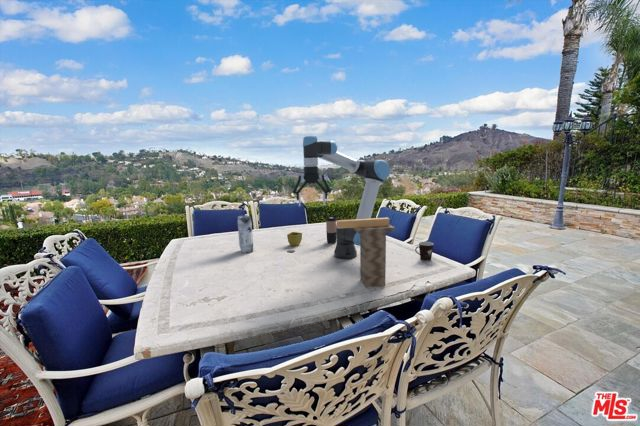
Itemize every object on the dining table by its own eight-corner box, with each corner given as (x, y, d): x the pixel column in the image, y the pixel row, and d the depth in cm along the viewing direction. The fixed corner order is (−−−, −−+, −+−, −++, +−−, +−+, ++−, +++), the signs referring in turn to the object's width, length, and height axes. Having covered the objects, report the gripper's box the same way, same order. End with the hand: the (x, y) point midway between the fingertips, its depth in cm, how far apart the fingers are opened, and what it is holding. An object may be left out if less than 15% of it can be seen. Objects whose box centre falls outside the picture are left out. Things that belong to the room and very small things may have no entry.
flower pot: (303, 244, 220) (302, 232, 218) (297, 247, 212) (296, 235, 210) (293, 243, 223) (292, 231, 222) (287, 246, 215) (286, 234, 214)
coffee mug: (430, 256, 183) (431, 241, 181) (434, 261, 175) (435, 245, 173) (412, 256, 184) (412, 241, 183) (415, 261, 176) (415, 245, 174)
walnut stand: (358, 289, 140) (358, 229, 135) (352, 279, 152) (352, 224, 146) (393, 285, 142) (394, 227, 137) (384, 276, 154) (385, 222, 149)
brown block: (337, 228, 138) (337, 221, 137) (336, 227, 141) (336, 220, 140) (389, 225, 141) (389, 218, 141) (387, 224, 144) (387, 217, 144)
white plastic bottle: (241, 254, 199) (238, 216, 195) (239, 250, 209) (236, 213, 204) (254, 252, 203) (251, 214, 198) (251, 248, 212) (248, 212, 208)
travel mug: (326, 241, 225) (325, 216, 221) (335, 240, 225) (335, 216, 222) (327, 244, 217) (326, 218, 214) (337, 243, 218) (336, 218, 214)
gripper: (287, 166, 147) (289, 207, 150) (335, 165, 150) (335, 205, 154) (287, 166, 154) (288, 205, 158) (332, 165, 158) (333, 203, 162)
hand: (312, 205), depth 156 cm, fingers open, 13 cm apart
